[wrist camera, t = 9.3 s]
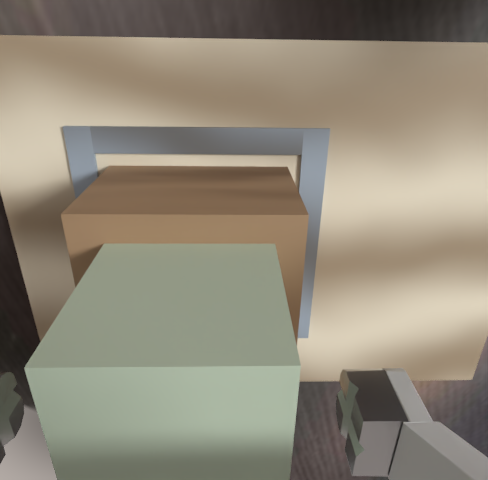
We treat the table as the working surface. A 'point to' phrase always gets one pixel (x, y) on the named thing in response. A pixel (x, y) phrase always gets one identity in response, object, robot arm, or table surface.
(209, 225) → the base block
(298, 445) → the table surface
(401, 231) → the build board
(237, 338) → the top block
